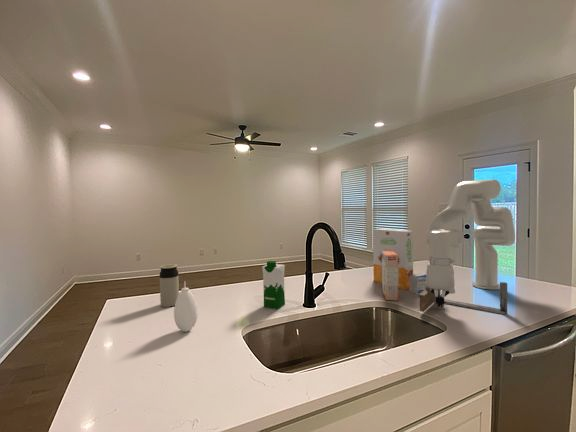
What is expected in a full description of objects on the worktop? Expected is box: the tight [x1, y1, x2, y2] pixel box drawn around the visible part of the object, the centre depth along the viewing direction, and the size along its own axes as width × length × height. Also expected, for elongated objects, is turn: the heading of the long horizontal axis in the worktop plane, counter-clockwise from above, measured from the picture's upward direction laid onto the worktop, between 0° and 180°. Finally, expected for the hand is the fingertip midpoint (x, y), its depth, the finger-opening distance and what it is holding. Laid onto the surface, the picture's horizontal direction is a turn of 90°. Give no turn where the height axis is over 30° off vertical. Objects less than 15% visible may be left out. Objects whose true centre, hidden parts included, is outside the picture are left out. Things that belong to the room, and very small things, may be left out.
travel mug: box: [159, 263, 180, 308], centre depth 135 cm, size 8×8×18 cm
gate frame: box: [434, 281, 508, 315], centre depth 124 cm, size 4×27×12 cm, turn 48°
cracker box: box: [381, 251, 399, 302], centre depth 140 cm, size 14×6×21 cm, turn 168°
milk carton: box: [261, 260, 286, 310], centre depth 130 cm, size 9×9×20 cm
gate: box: [418, 290, 436, 313], centre depth 123 cm, size 2×20×6 cm, turn 139°
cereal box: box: [372, 228, 414, 291], centre depth 162 cm, size 22×6×30 cm, turn 26°
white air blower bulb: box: [173, 281, 199, 333], centre depth 105 cm, size 8×8×18 cm
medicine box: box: [409, 273, 426, 295], centre depth 147 cm, size 8×4×9 cm, turn 117°
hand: (440, 305), depth 120 cm, fingers closed
